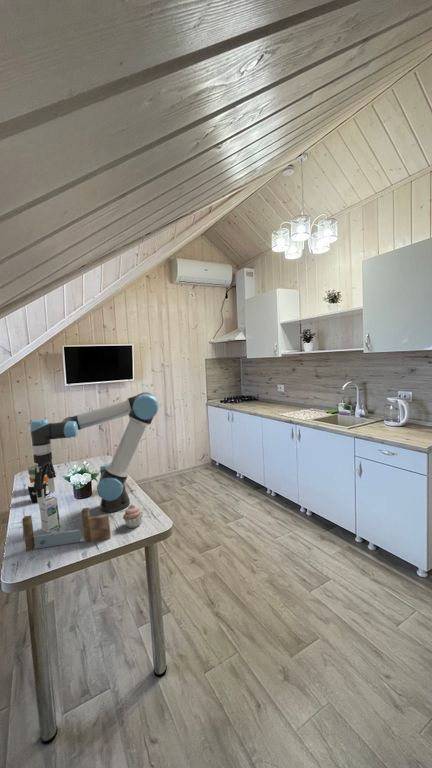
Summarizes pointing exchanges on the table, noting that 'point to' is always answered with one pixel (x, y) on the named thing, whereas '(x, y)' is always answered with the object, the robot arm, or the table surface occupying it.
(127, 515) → the cupcake
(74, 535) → the pale blue flat bar
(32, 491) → the mug
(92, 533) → the door frame
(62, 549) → the table surface
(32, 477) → the reusable coffee cup
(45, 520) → the syrup box
